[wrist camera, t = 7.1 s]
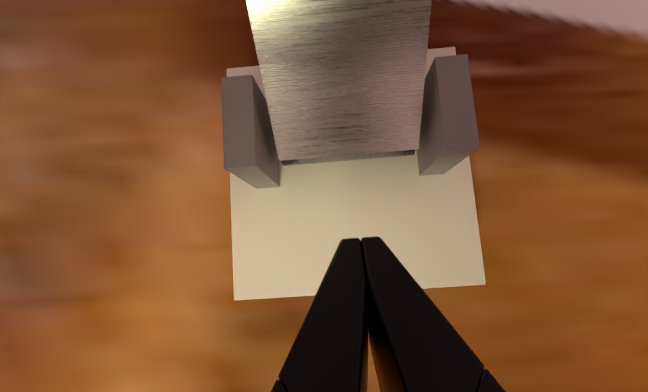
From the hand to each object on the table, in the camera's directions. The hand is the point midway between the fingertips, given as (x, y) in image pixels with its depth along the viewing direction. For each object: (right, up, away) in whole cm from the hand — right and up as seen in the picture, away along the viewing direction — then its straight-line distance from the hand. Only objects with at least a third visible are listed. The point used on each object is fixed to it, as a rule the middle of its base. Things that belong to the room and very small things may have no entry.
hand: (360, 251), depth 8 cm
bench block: (0, +3, +10) cm, 10 cm away
